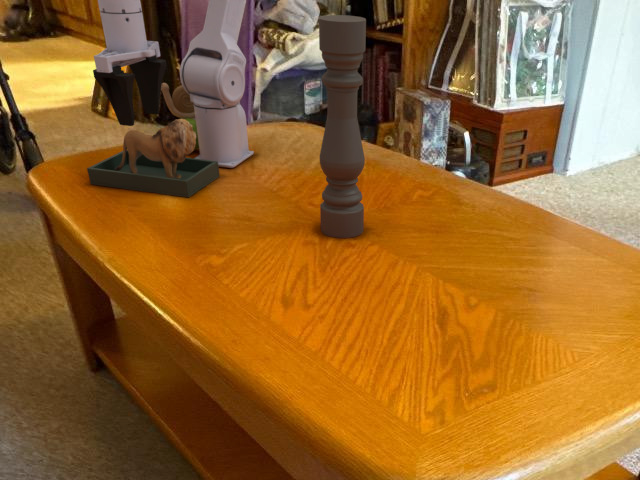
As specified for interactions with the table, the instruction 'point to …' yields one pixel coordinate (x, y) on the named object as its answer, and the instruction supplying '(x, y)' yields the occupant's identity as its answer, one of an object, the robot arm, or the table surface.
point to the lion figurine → (160, 146)
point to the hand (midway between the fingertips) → (140, 119)
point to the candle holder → (342, 125)
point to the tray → (154, 175)
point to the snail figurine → (181, 106)
